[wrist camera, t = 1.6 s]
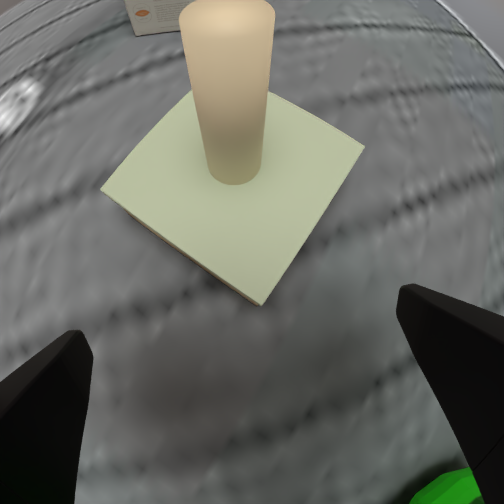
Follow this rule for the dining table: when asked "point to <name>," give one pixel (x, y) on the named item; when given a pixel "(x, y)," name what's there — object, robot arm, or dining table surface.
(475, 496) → the plastic bottle
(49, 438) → the robot arm
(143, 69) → the dining table surface
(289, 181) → the beige peg on base
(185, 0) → the small box
